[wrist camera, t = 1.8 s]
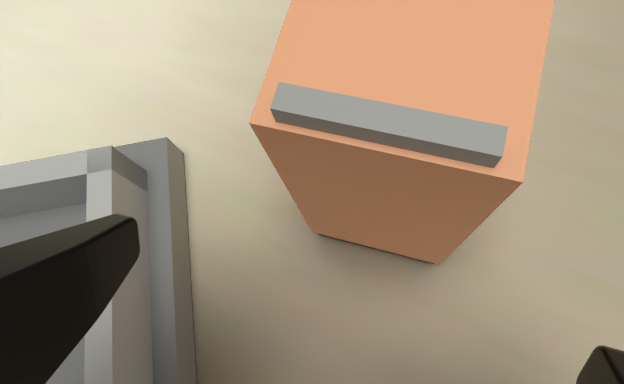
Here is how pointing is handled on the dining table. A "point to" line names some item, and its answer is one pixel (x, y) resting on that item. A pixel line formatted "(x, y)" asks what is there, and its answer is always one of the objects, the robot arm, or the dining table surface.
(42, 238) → the robot arm
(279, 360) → the dining table surface
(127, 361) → the dock
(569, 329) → the dining table surface
